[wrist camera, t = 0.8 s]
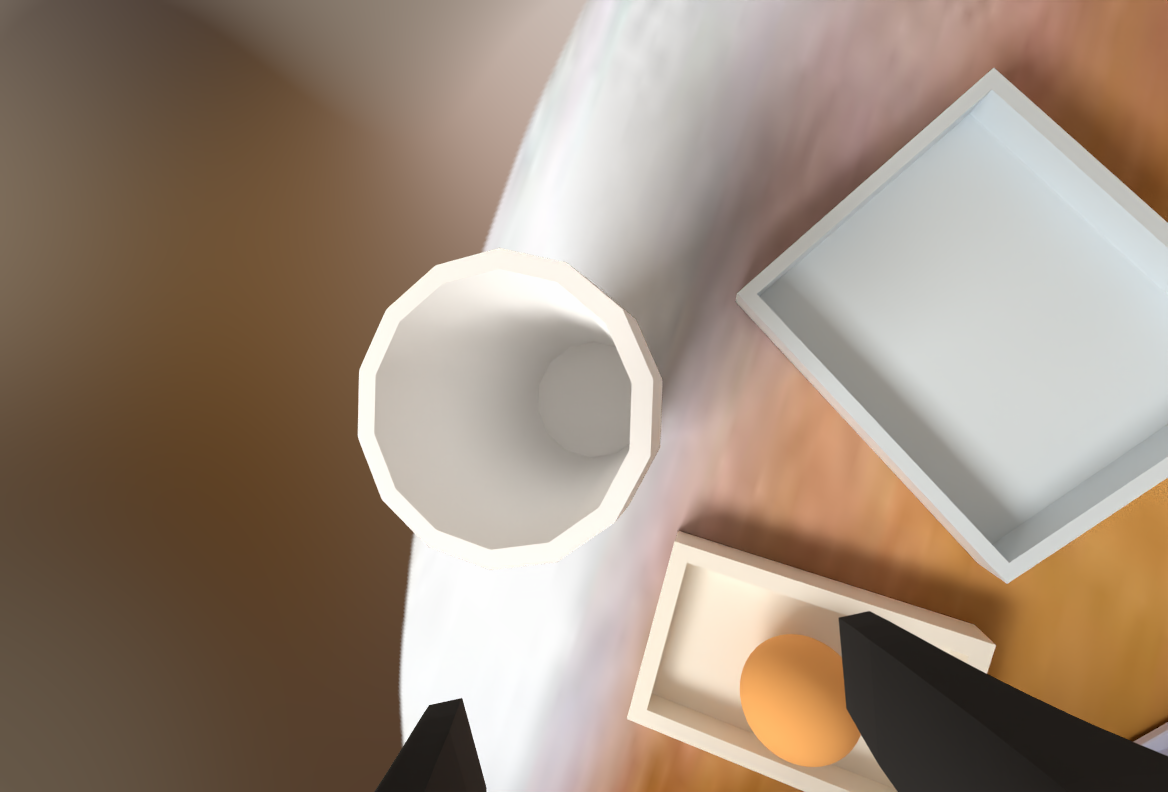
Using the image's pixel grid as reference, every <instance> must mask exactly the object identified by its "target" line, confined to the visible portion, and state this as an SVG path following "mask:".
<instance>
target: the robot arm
mask: <svg viewBox="0 0 1168 792" xmlns="http://www.w3.org/2000/svg"><path fill="white" fill-rule="evenodd" d="M838 619H839V630H840V642H841V653H842V665H843V676H844V687H845V699H846V709H847V710H848V712H849V714H850V716H851V718H852V719H853V721H854V723H855V725H856V727H857V728H858V730H859V732H860V734H861V736H862V737H863V739H864V741H865V743H866V744H867V746H868V748H869V749H870V751H871V753H872V754H873V756H874V758H875V760H876V761H877V763H878V765H879V766H880V768H881V769H882V770H883V772H884V773H885V775H886V776H887V778H888V779H889V780H890V782H891V783H892V785H893V786H894V787H895V789H896V790H897V792H1168V722H1167V723H1165V724H1164V725H1162V726H1160V727H1158V728H1156V729H1155V730H1153V731H1151V732H1149V733H1148V734H1146V735H1144V736H1142V737H1141V738H1139V739H1137V740H1135V741H1134V742H1132V741H1130V740H1128V739H1125V738H1123V737H1120V736H1118V735H1116V734H1113V733H1111V732H1108V731H1106V730H1104V729H1101V728H1099V727H1097V726H1094V725H1092V724H1090V723H1088V722H1085V721H1083V720H1081V719H1079V718H1077V717H1074V716H1072V715H1070V714H1068V713H1066V712H1064V711H1062V710H1059V709H1057V708H1055V707H1053V706H1051V705H1049V704H1047V703H1045V702H1043V701H1041V700H1038V699H1036V698H1034V697H1032V696H1030V695H1028V694H1026V693H1024V692H1022V691H1020V690H1018V689H1016V688H1014V687H1012V686H1010V685H1008V684H1006V683H1004V682H1002V681H1000V680H998V679H996V678H994V677H992V676H990V675H988V674H986V673H984V672H982V671H980V670H979V669H977V668H975V667H973V666H971V665H969V664H967V663H965V662H963V661H962V660H960V659H958V658H956V657H954V656H952V655H950V654H949V653H947V652H945V651H943V650H941V649H939V648H938V647H936V646H934V645H932V644H930V643H928V642H927V641H925V640H923V639H921V638H919V637H917V636H916V635H914V634H912V633H910V632H908V631H906V630H905V629H903V628H901V627H899V626H897V625H895V624H894V623H892V622H890V621H888V620H886V619H884V618H882V617H880V616H878V615H876V614H874V613H873V612H870V611H867V612H862V613H858V614H853V615H848V616H844V617H839V618H838ZM375 792H486V785H485V781H484V777H483V774H482V770H481V766H480V763H479V759H478V755H477V751H476V748H475V744H474V740H473V737H472V733H471V729H470V726H469V722H468V718H467V714H466V711H465V707H464V703H463V700H462V698H461V699H456V700H451V701H447V702H442V703H437V704H433V705H429V707H428V708H427V709H426V711H425V712H424V714H423V715H422V717H421V719H420V720H419V722H418V723H417V725H416V727H415V728H414V730H413V731H412V733H411V735H410V736H409V738H408V740H407V741H406V743H405V744H404V746H403V748H402V749H401V751H400V753H399V754H398V756H397V757H396V759H395V760H394V762H393V764H392V765H391V767H390V769H389V770H388V772H387V773H386V775H385V777H384V778H383V780H382V781H381V783H380V784H379V786H378V787H377V789H376V790H375Z"/></svg>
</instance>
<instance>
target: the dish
mask: <svg viewBox="0 0 1168 792" xmlns="http://www.w3.org/2000/svg"><path fill="white" fill-rule="evenodd" d="M867 611H870V612H873V613H874V614H876V615H878V616H880V617H882V618H884V619H886V620H888V621H890V622H892V623H894V624H895V625H897V626H899V627H901V628H903V629H905V630H906V631H908V632H910V633H912V634H914V635H916V636H917V637H919V638H921V639H923V640H925V641H927V642H928V643H930V644H932V645H934V646H936V647H938V648H939V649H941V650H943V651H945V652H947V653H949V654H950V655H952V656H954V657H956V658H958V659H960V660H962V661H963V662H965V663H967V664H969V665H971V666H973V667H975V668H977V669H979V670H980V671H982V672H984V673H986V674H987V672H988V669H989V666H990V663H991V659H992V656H993V653H994V650H995V647H996V645H995V644H994V643H993V642H992V641H991V640H990V639H989V638H988V637H987V636H986V635H985V634H984V633H983V632H982V631H981V630H980V629H979V628H977V627H976V626H975V625H974V624H971V623H968V622H964V621H961V620H958V619H955V618H952V617H949V616H946V615H942V614H939V613H936V612H933V611H930V610H927V609H924V608H920V607H917V606H914V605H911V604H908V603H905V602H902V601H898V600H895V599H892V598H889V597H886V596H883V595H880V594H876V593H873V592H870V591H867V590H864V589H861V588H857V587H854V586H851V585H848V584H845V583H842V582H839V581H835V580H832V579H829V578H826V577H823V576H820V575H817V574H813V573H810V572H807V571H804V570H801V569H798V568H795V567H791V566H788V565H785V564H782V563H779V562H776V561H773V560H769V559H766V558H763V557H760V556H757V555H754V554H750V553H747V552H744V551H741V550H738V549H735V548H732V547H728V546H725V545H722V544H719V543H716V542H713V541H710V540H706V539H703V538H700V537H697V536H694V535H691V534H688V533H684V532H681V531H678V532H677V535H676V539H675V542H674V546H673V549H672V553H671V557H670V560H669V564H668V568H667V572H666V575H665V579H664V583H663V586H662V590H661V594H660V598H659V601H658V605H657V609H656V612H655V616H654V620H653V624H652V627H651V631H650V635H649V638H648V642H647V646H646V650H645V653H644V657H643V661H642V664H641V668H640V672H639V676H638V679H637V683H636V687H635V691H634V694H633V698H632V702H631V705H630V709H629V713H628V717H627V719H628V720H631V721H633V722H636V723H638V724H641V725H643V726H646V727H648V728H650V729H653V730H655V731H658V732H660V733H663V734H665V735H668V736H670V737H672V738H675V739H677V740H680V741H682V742H685V743H687V744H690V745H692V746H694V747H697V748H699V749H702V750H704V751H707V752H709V753H711V754H714V755H716V756H719V757H721V758H724V759H726V760H729V761H731V762H733V763H736V764H738V765H741V766H743V767H746V768H748V769H751V770H753V771H755V772H758V773H760V774H763V775H765V776H768V777H770V778H773V779H775V780H777V781H780V782H782V783H785V784H787V785H790V786H792V787H795V788H797V789H799V790H802V791H804V792H897V790H896V789H895V787H894V786H893V785H892V783H891V782H890V780H889V779H888V778H887V776H886V775H885V773H884V772H883V770H882V769H881V768H880V766H879V765H878V763H877V761H876V760H875V758H874V756H873V754H872V753H871V751H870V749H869V748H868V746H867V744H866V743H865V741H864V739H863V737H862V736H860V738H859V740H858V742H857V744H856V745H855V746H854V748H853V749H852V751H851V752H850V753H849V754H848V755H846V756H845V757H844V758H842V759H841V760H839V761H837V762H835V763H833V764H830V765H826V766H822V767H806V766H800V765H796V764H793V763H790V762H788V761H785V760H783V759H782V758H780V757H778V756H777V755H775V754H774V753H773V752H771V751H770V750H769V749H768V748H767V747H765V746H764V745H763V744H762V742H761V741H760V740H759V739H758V738H757V736H756V735H755V734H754V732H753V731H752V729H751V728H750V726H749V724H748V722H747V720H746V717H745V715H744V712H743V709H742V705H741V699H740V679H741V673H742V670H743V667H744V665H745V662H746V660H747V658H748V657H749V655H750V654H751V653H752V652H753V651H754V649H755V648H756V647H757V646H759V645H760V644H761V643H763V642H764V641H766V640H768V639H770V638H772V637H775V636H779V635H785V634H797V635H804V636H808V637H811V638H814V639H816V640H818V641H820V642H822V643H824V644H826V645H827V646H829V647H830V648H832V649H833V650H834V651H835V652H837V653H838V654H839V655H840V656H841V657H842V653H841V642H840V630H839V619H838V618H839V617H844V616H848V615H853V614H858V613H862V612H867Z"/></svg>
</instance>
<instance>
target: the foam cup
mask: <svg viewBox="0 0 1168 792" xmlns="http://www.w3.org/2000/svg"><path fill="white" fill-rule="evenodd" d="M662 384H663V380H662V378H661V375H660V373H659V371H658V369H657V366H656V364H655V362H654V359H653V357H652V355H651V353H650V350H649V348H648V346H647V343H646V341H645V339H644V337H643V334H642V332H641V330H640V328H639V325H638V323H637V321H636V319H635V318H634V317H632V316H631V315H630V314H629V313H628V312H626V311H625V310H624V309H623V308H622V307H621V306H619V305H618V304H617V303H616V302H615V301H613V300H612V299H611V298H610V297H609V296H607V295H606V294H605V293H604V292H603V291H601V290H600V289H599V288H598V287H597V286H595V285H594V284H593V283H592V282H591V281H589V280H588V279H587V278H586V277H584V276H583V275H582V274H581V273H579V272H578V271H577V270H576V269H574V268H573V267H572V266H570V265H569V264H568V263H566V262H562V261H557V260H552V259H548V258H543V257H539V256H534V255H530V254H525V253H520V252H516V251H511V250H507V249H502V248H497V249H494V250H490V251H487V252H483V253H479V254H476V255H472V256H468V257H465V258H461V259H458V260H454V261H450V262H447V263H443V264H440V265H436V266H434V267H433V268H432V269H431V270H430V271H429V272H428V273H427V274H426V275H424V276H423V277H422V278H421V279H420V280H419V281H418V282H417V283H415V284H414V285H413V286H412V287H411V288H410V289H409V290H408V291H406V292H405V293H404V294H403V295H402V296H401V297H400V298H399V299H397V300H396V301H395V302H394V303H393V304H392V305H391V306H390V307H389V308H387V309H386V312H385V314H384V316H383V318H382V320H381V323H380V325H379V327H378V329H377V331H376V334H375V336H374V338H373V340H372V343H371V345H370V347H369V350H368V352H367V354H366V356H365V358H364V361H363V363H362V365H361V368H360V370H359V408H358V439H359V441H360V444H361V446H362V449H363V452H364V454H365V457H366V459H367V462H368V465H369V467H370V470H371V472H372V475H373V478H374V480H375V483H376V485H377V488H378V491H379V493H380V496H381V498H382V500H383V501H384V502H385V503H386V504H387V505H388V506H389V507H390V508H391V509H392V510H393V511H394V512H395V513H396V514H397V515H398V516H399V517H400V518H401V519H402V520H403V522H405V524H406V525H407V526H409V528H410V529H411V530H413V532H414V533H415V534H416V535H417V536H418V537H419V538H420V539H421V540H422V541H423V542H424V543H425V544H426V545H427V546H428V547H430V548H433V549H435V550H438V551H441V552H443V553H446V554H449V555H451V556H454V557H457V558H459V559H462V560H465V561H467V562H470V563H473V564H475V565H478V566H481V567H483V568H486V569H489V570H495V569H503V568H512V567H521V566H529V565H538V564H546V563H555V562H558V561H560V560H561V559H562V558H564V557H565V556H567V555H568V554H570V553H571V552H573V551H574V550H576V549H577V548H578V547H580V546H581V545H583V544H584V543H586V542H587V541H589V540H590V539H592V538H593V537H594V536H596V535H597V534H599V533H600V532H602V531H603V530H605V529H606V528H608V527H609V526H610V525H612V524H613V523H615V522H616V521H617V519H618V518H619V517H620V516H621V514H622V513H623V512H624V511H625V509H626V508H627V507H628V506H629V504H630V502H631V500H632V499H633V497H634V495H635V493H636V491H637V489H638V487H639V486H640V484H641V482H642V480H643V478H644V476H645V474H646V473H647V471H648V469H649V467H650V465H651V463H652V461H653V460H654V458H655V456H656V454H657V452H658V450H659V448H660V437H661V410H662Z"/></svg>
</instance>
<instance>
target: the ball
mask: <svg viewBox="0 0 1168 792" xmlns="http://www.w3.org/2000/svg"><path fill="white" fill-rule="evenodd" d="M740 699H741V705H742V709H743V712H744V715H745V717H746V720H747V722H748V724H749V726H750V728H751V729H752V731H753V732H754V734H755V735H756V736H757V738H758V739H759V740H760V741H761V742H762V744H763V745H764V746H765V747H767V748H768V749H769V750H770V751H771V752H773V753H774V754H775V755H777V756H778V757H780V758H782V759H783V760H785V761H788V762H790V763H793V764H796V765H800V766H806V767H822V766H826V765H830V764H833V763H835V762H837V761H839V760H841V759H842V758H844V757H845V756H846V755H848V754H849V753H850V752H851V751H852V749H853V748H854V746H855V745H856V744H857V742H858V740H859V738H860V736H861V734H860V732H859V730H858V728H857V727H856V725H855V723H854V721H853V719H852V718H851V716H850V714H849V712H848V710H847V709H846V699H845V687H844V676H843V665H842V657H841V656H840V655H839V654H838V653H837V652H835V651H834V650H833V649H832V648H830V647H829V646H827V645H826V644H824V643H822V642H820V641H818V640H816V639H814V638H811V637H808V636H804V635H797V634H785V635H779V636H775V637H772V638H770V639H768V640H766V641H764V642H763V643H761V644H760V645H759V646H757V647H756V648H755V649H754V651H753V652H752V653H751V654H750V655H749V657H748V658H747V660H746V662H745V665H744V667H743V670H742V673H741V679H740Z"/></svg>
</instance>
